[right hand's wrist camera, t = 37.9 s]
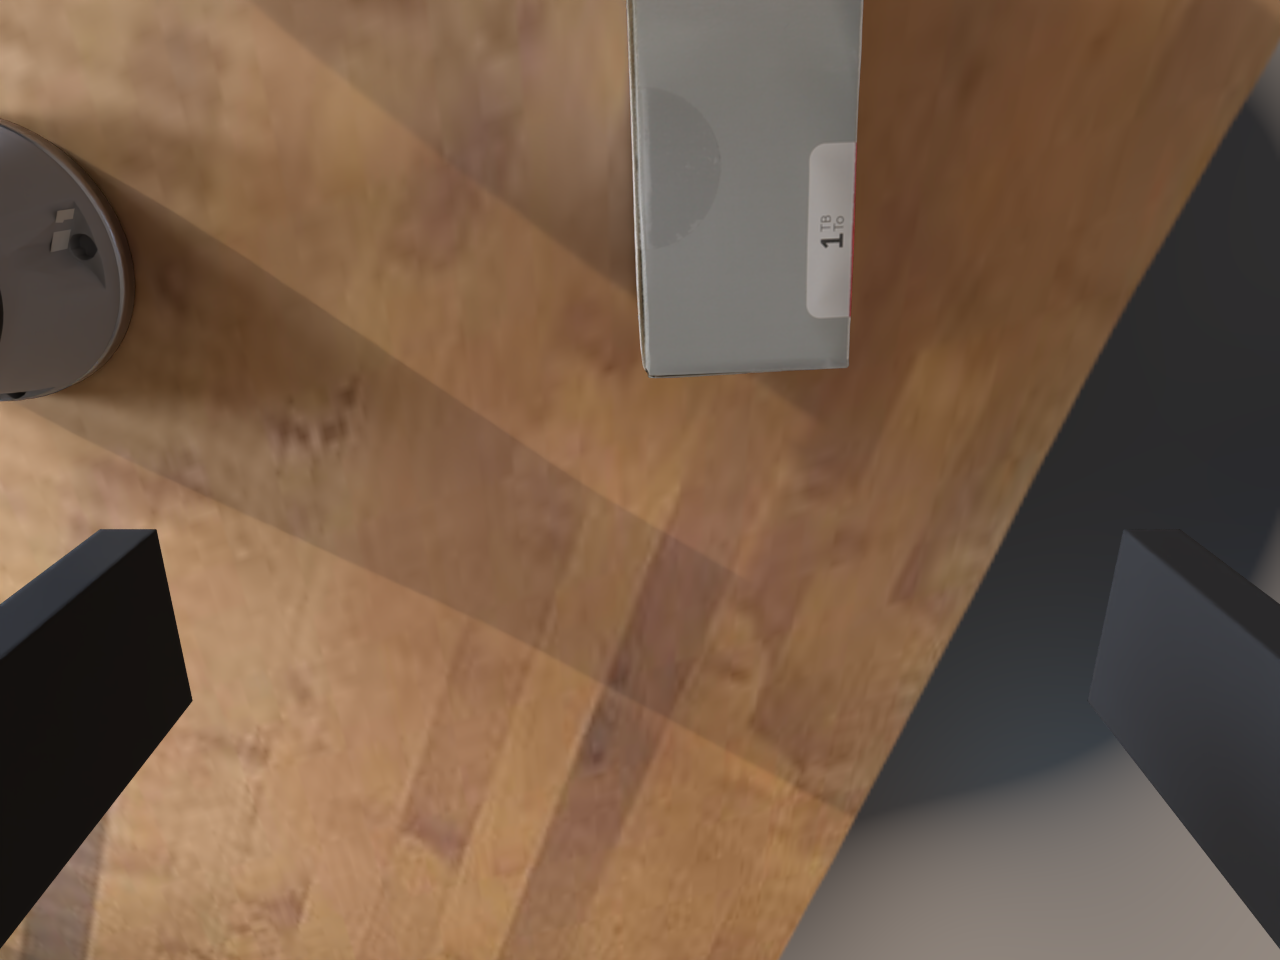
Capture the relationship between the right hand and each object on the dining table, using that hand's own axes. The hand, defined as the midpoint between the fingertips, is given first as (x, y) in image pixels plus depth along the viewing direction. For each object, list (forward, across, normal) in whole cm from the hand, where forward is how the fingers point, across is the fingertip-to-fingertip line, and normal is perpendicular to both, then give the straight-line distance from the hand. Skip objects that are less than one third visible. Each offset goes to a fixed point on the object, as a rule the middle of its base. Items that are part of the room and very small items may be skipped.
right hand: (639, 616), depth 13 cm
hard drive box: (+41, +3, +6) cm, 41 cm away
